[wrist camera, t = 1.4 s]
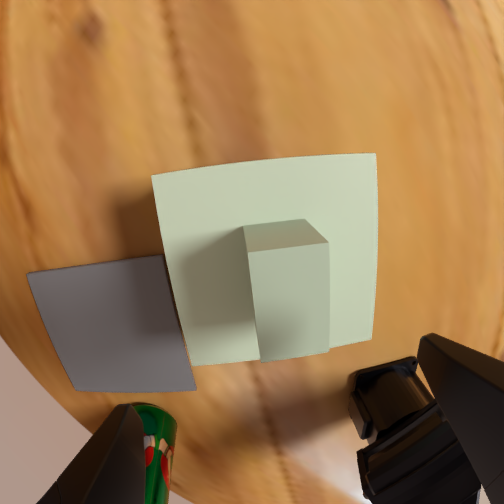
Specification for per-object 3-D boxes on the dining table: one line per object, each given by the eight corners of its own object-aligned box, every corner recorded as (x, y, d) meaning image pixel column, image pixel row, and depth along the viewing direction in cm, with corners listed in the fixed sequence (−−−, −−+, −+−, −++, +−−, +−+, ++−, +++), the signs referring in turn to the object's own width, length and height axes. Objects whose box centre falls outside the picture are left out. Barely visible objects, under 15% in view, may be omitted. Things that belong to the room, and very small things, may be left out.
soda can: (118, 415, 25) (88, 515, 14) (143, 392, 24) (115, 507, 13) (159, 439, 27) (144, 537, 15) (188, 419, 26) (178, 530, 14)
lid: (370, 152, 15) (419, 157, 10) (367, 334, 18) (398, 379, 14) (154, 174, 14) (123, 185, 10) (193, 360, 18) (185, 414, 14)
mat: (162, 254, 20) (161, 256, 20) (196, 387, 24) (196, 390, 24) (28, 272, 20) (26, 274, 20) (77, 387, 24) (76, 390, 23)
